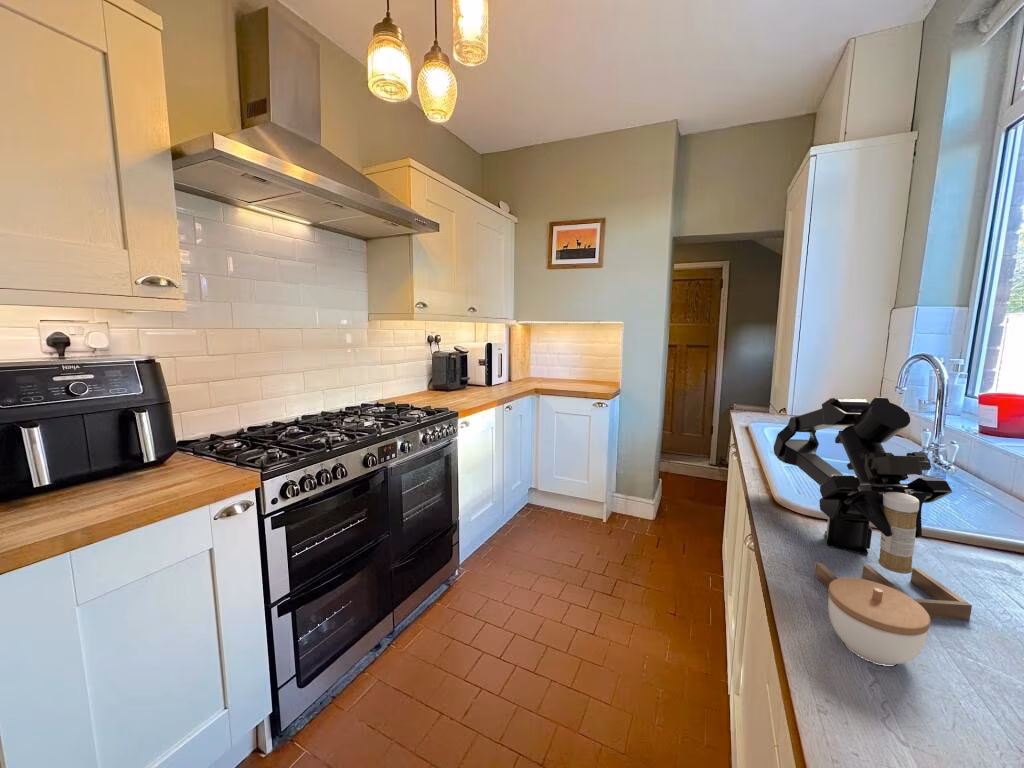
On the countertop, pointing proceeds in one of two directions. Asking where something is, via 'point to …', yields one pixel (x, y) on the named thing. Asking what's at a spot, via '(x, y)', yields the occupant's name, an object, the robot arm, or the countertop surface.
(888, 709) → the countertop surface
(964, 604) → the walnut lanes
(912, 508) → the sprinkles bottle
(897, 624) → the lidded jar
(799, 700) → the countertop surface
